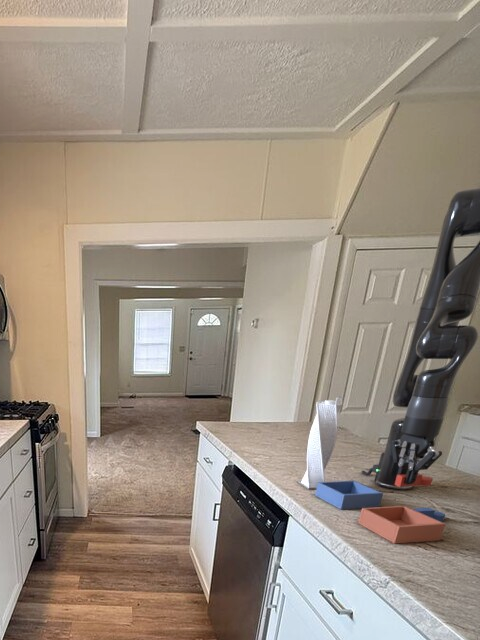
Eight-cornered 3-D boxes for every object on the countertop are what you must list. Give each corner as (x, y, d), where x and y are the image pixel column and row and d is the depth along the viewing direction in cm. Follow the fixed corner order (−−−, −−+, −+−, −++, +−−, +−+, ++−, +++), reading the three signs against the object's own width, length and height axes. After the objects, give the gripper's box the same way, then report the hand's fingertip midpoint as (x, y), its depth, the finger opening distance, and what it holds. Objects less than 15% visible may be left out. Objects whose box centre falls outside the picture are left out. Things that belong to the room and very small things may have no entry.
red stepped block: (402, 488, 104) (405, 478, 102) (391, 483, 107) (394, 473, 106) (434, 485, 104) (437, 474, 103) (422, 480, 108) (425, 470, 106)
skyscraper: (333, 490, 123) (354, 396, 112) (307, 490, 123) (325, 396, 113) (319, 482, 131) (338, 393, 120) (294, 482, 131) (311, 393, 120)
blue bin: (315, 495, 119) (317, 482, 118) (350, 493, 121) (353, 480, 119) (340, 509, 109) (344, 495, 107) (379, 507, 110) (383, 493, 108)
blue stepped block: (414, 523, 100) (417, 512, 99) (402, 517, 103) (405, 507, 102) (447, 521, 101) (450, 510, 100) (434, 515, 104) (437, 505, 103)
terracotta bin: (358, 523, 100) (361, 508, 99) (399, 520, 101) (404, 505, 100) (394, 543, 90) (399, 526, 88) (440, 540, 91) (446, 523, 89)
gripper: (465, 419, 92) (441, 490, 99) (415, 410, 105) (396, 473, 112) (435, 421, 92) (413, 492, 98) (388, 411, 104) (372, 475, 111)
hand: (404, 481), depth 105 cm, fingers closed on red stepped block, 2 cm apart
